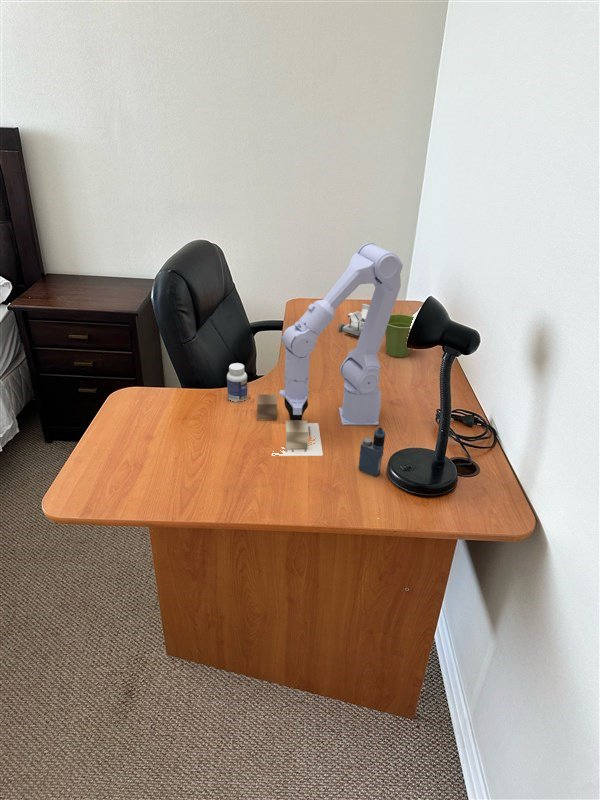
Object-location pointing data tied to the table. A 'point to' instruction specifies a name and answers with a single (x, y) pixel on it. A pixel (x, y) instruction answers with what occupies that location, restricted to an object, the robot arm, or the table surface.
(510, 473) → the table surface
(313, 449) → the letter
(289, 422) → the beech block
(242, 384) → the pill bottle
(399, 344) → the plant pot
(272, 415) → the walnut block
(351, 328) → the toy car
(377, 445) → the vaping device
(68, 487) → the table surface
